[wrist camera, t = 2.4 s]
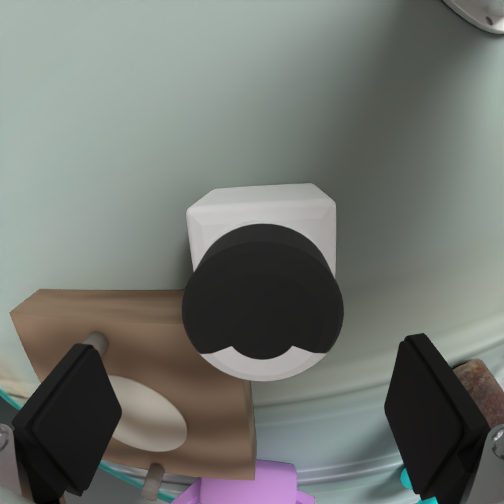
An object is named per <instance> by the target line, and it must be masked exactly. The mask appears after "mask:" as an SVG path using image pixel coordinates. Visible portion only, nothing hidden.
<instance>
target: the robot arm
mask: <svg viewBox="0 0 504 504" xmlns="http://www.w3.org/2000/svg"><path fill="white" fill-rule="evenodd" d="M443 1H444V2H445V3H446V4H447V5H448V6H449V7H450V8H452V9H453V10H454V11H455V12H456V13H457V14H459V15H460V16H461V17H463V18H464V19H465V20H467V21H468V22H470V23H472V24H473V25H475V26H477V27H478V28H480V29H483V30H485V31H487V32H491V33H495V34H504V0H443ZM384 409H385V414H386V417H387V419H388V422H389V425H390V427H391V430H392V432H393V435H394V438H395V441H396V443H397V446H398V449H399V451H400V454H401V457H402V460H403V463H404V465H405V468H406V471H407V474H408V477H409V480H410V483H411V486H412V489H413V491H414V493H415V494H420V497H421V500H422V501H424V500H427V499H430V498H432V497H436V500H437V503H438V504H504V424H501V425H498V426H496V427H494V428H493V429H492V430H491V428H490V426H489V425H488V424H489V423H488V422H487V420H486V419H485V417H484V415H483V414H482V412H481V411H480V409H479V408H478V406H477V405H476V403H475V402H474V400H473V399H472V397H471V396H470V395H469V393H468V392H467V390H466V389H465V387H464V386H463V384H462V383H461V382H460V380H459V379H458V377H457V376H456V375H455V373H454V372H453V370H452V369H451V368H450V366H449V365H448V363H447V362H446V361H445V359H444V358H443V357H442V355H441V354H440V353H439V351H438V350H437V349H436V347H435V346H434V345H433V343H432V342H431V341H430V340H429V338H428V337H427V336H426V335H425V334H424V333H421V334H415V335H409V336H406V337H405V339H404V341H402V342H400V344H399V348H398V353H397V357H396V362H395V366H394V370H393V374H392V378H391V382H390V386H389V390H388V394H387V397H386V401H385V406H384ZM121 416H122V408H121V406H120V403H119V401H118V399H117V397H116V394H115V392H114V390H113V387H112V385H111V382H110V380H109V377H108V375H107V372H106V370H105V367H104V365H103V362H102V359H101V357H100V354H99V352H98V350H96V349H95V348H94V346H93V345H91V344H81V343H76V344H74V345H73V346H72V348H71V349H70V350H69V351H68V352H67V353H66V355H65V356H64V357H63V358H62V359H61V360H60V362H59V363H58V364H57V365H56V366H55V368H54V369H53V370H52V371H51V372H50V374H49V375H48V376H47V377H46V378H45V380H44V381H43V382H42V383H41V385H40V386H39V387H38V388H37V389H36V391H35V392H34V393H33V394H32V396H31V397H30V398H29V400H28V401H27V402H26V403H25V405H24V406H23V407H22V409H21V410H20V411H19V412H18V414H17V415H16V416H15V418H14V419H13V420H12V422H11V423H12V424H13V426H14V427H15V430H14V431H12V430H11V429H10V427H8V426H7V425H4V424H0V504H66V501H65V498H64V495H63V494H64V491H65V490H66V491H67V492H69V493H72V494H75V495H77V496H82V493H83V491H84V490H87V489H88V487H89V486H90V483H91V481H92V479H93V477H94V474H95V472H96V470H97V468H98V466H99V463H100V461H101V459H102V457H103V455H104V452H105V450H106V448H107V446H108V444H109V442H110V440H111V437H112V435H113V433H114V431H115V429H116V427H117V425H118V423H119V421H120V419H121Z"/></svg>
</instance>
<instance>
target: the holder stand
mask: <svg viewBox="0 0 504 504" xmlns="http://www.w3.org/2000/svg"><path fill="white" fill-rule="evenodd" d="M184 292H185V290H57V289H39V290H38V291H37V292H35V293H34V294H33V295H31V296H30V297H29V298H27V299H26V300H25V301H24V302H22V303H21V304H20V305H18V306H17V307H16V308H15V309H13V310H12V311H11V312H10V316H11V318H12V321H13V323H14V326H15V328H16V331H17V333H18V336H19V338H20V340H21V343H22V345H23V347H24V349H25V352H26V354H27V356H28V358H29V360H30V362H31V364H32V366H33V368H34V370H35V372H36V374H37V376H38V378H39V380H40V382H41V383H42V382H43V381H44V380H45V378H46V377H47V376H48V375H49V374H50V372H51V371H52V370H53V369H54V368H55V366H56V365H57V364H58V363H59V362H60V360H61V359H62V358H63V357H64V356H65V355H66V353H67V352H68V351H69V350H70V349H71V348H72V346H73V345H74V344H76V343H81V344H91V345H93V346H94V348H95V349H96V350H98V352H99V354H100V357H101V359H102V362H103V365H104V367H105V370H106V372H107V375H108V377H109V380H110V382H111V385H112V387H113V390H114V392H115V394H116V397H117V399H118V401H119V403H120V406H121V408H122V416H121V419H120V421H119V423H118V425H117V427H116V429H115V431H114V433H113V435H112V437H111V440H110V442H109V444H108V446H107V448H106V450H105V452H104V455H103V457H102V460H106V461H109V462H113V463H117V464H122V465H126V466H131V467H135V468H140V469H145V470H148V473H147V476H146V479H145V482H144V485H143V488H142V491H141V494H140V495H141V496H142V497H143V498H145V499H147V500H151V501H155V500H156V499H157V495H158V492H159V488H160V485H161V481H162V478H163V475H164V473H168V474H175V475H183V476H191V477H201V478H212V479H227V480H255V469H256V453H257V441H256V431H255V421H254V412H253V402H252V392H251V381H250V380H246V379H241V378H237V377H234V376H232V375H229V374H227V373H225V372H223V371H221V370H219V369H218V368H216V367H214V366H213V365H212V364H210V363H209V362H208V361H207V360H205V359H204V358H203V357H202V356H201V355H200V354H199V353H198V352H197V350H196V349H195V348H194V346H193V345H192V343H191V342H190V340H189V338H188V336H187V334H186V331H185V328H184V325H183V320H182V300H183V295H184Z"/></svg>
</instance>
